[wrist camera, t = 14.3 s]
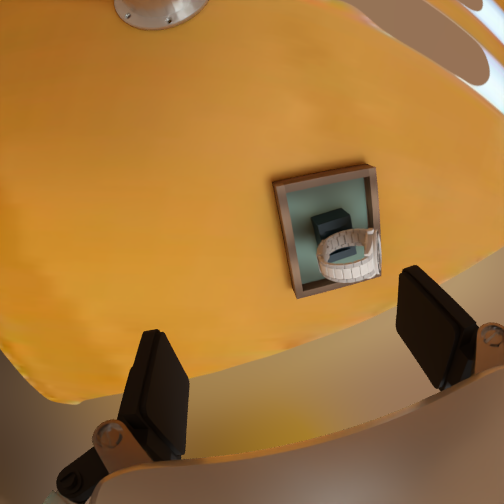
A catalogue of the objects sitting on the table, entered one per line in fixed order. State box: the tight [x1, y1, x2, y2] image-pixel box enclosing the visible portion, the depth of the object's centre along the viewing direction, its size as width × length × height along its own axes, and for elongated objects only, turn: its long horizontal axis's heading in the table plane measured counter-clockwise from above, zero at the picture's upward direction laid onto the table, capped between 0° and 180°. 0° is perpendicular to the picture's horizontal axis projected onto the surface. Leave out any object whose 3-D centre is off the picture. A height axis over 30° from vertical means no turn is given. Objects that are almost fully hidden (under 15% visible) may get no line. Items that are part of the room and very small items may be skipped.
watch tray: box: [272, 164, 381, 299], centre depth 39 cm, size 16×13×3 cm
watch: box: [311, 208, 381, 283], centre depth 34 cm, size 6×8×11 cm
